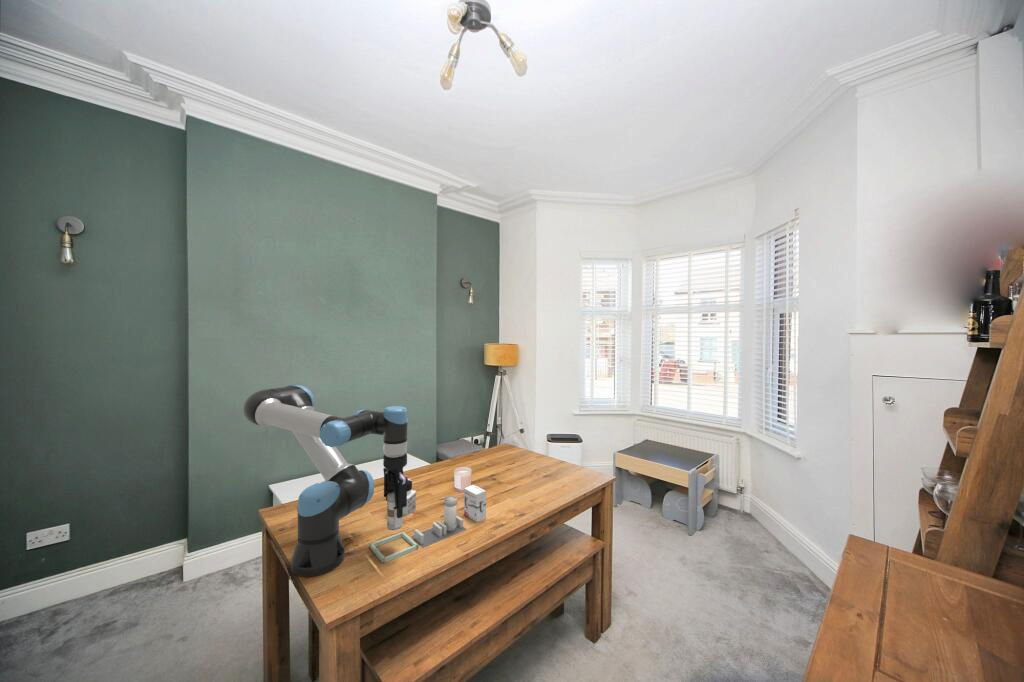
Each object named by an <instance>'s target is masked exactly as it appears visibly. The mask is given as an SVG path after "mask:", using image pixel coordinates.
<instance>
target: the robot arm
mask: <svg viewBox="0 0 1024 682" xmlns="http://www.w3.org/2000/svg"><path fill="white" fill-rule="evenodd" d="M314 399H315V397H314V395H313V393H312V391H311V390H310V389H308V388H307V387H306V386H303V385H301V384H300V385H299V384H298V385H294V384H293V385H287V386H281V387H275V388H269V389H268V388H267V389H261V390H258V391H255V392H254V393H252V394H251V395H250V396H249V397H248V398H247V399H246V400H245V402H244V404H243V411H242V412H243V415H244V417H245V419H247V421H248V422H250V423H251V424H254V425H256V426H260V427H265V428H267V427H272V426H273V427H275V428H276V427H277V428H279V429H284V430H288V431H291V432H292V434H293V435H294V436H295V438H296V439H297V441H298V442H299V444H300V445H301V447H302V448H303V450H304V451H305V452H306V454H307V456H308V457H309V459H310V460H311V461H312V463H313V464H314V466H315V467H316V469H317V471H319V473H320V474H321V476H322V478H323V479H324V481H321V482H316V483H313V484H311V485H309V486H308V487H306V488H305V489H303V490H302V492H301V493H300V494H299V496H298V501H297V506H296V507H297V508H296V512H297V542H296V546H295V548H294V551H293V554H292V557H291V560H290V571H291V573H292V574H294V576H299V577H305V578H306V577H315V576H319V575H323V574H326V573H328V572H330V571H332V570H335V568H337V567H339V566H340V565H341V564H342V563H343V561H344V559H345V557H346V556H345V554H346V552H345V546H344V543H343V540H342V538H341V535H340V520H341V519H343V518H344V517H347V516H348V515H349V514H352V513H353V512H354V511H355V512H356V510H358V509H361V508H362V507H364V506H365V505H366V504H367V503H369V502H370V501H371V499H372V498H373V496H374V494H375V487H376V486H375V485H376V484H375V481H374V478H373V476H372V474H371V473H370V472H368V471H367V470H364V469H360V470H359V469H358V468H357V467H356V465H355V464H354V463H348V462H347V460H346V459H345V458H344V456H343V455H342V454H341V452H340V450H339V449H338V448H337V447H338V446H343V445H345V444H347V443H349V442H352V441H355V440H357V439H360V438H364V437H366V436H369V435H378V436H383V444H382V445H383V450H382V452H383V457H382V458H383V459H382V460H383V464H382V466H383V470H382V471H383V497H384V498H385V500H386V508H387V507H388V501H387V494H388V493H389V492H392V491H394V495H395V506H396V507H393V508H394V528H397V527H400V526H402V527H403V526H404V515H403V507H406V506H407V482H408V479H409V478H408V477H407V476H404V467H406V466H407V464H408V452H407V451H408V443H409V442H408V425H409V424H408V422H409V419H408V410H407V409H408V408H407V407H404V406H400V405H398V406H396V405H393V406H388V407H385V408H384V409H383V411H377V410H371V409H361V410H360V409H359V410H357V411H356V412H355V413H354V414H352V415H351V416H347V417H339V416H335V415H331V414H328V413H323V412H320V411H315V408H314V407H315V401H314ZM396 483H397V484H396ZM387 516H388V515H387V514H386V517H387Z"/></svg>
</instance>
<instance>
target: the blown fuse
mask: <svg viewBox="0 0 1024 682" xmlns="http://www.w3.org/2000/svg"><path fill="white" fill-rule="evenodd" d="M387 501H388V507H387V506H386V529H387V530H388V531H397V530H400V529H402V527H403V526H400V527H397V528H394V508H393V507H396V506H395V495H394V491H392V492H389V493H388V494H387V500H386V502H387ZM387 515H388V516H387Z"/></svg>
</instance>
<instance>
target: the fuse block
mask: <svg viewBox="0 0 1024 682" xmlns="http://www.w3.org/2000/svg"><path fill="white" fill-rule="evenodd" d="M456 523H457V529H456V530H455V531H453V532H446V531H447V526H446V525H444V522H442V521H440V520H436V522H435V521H434V522H432V524H431V525H432V527H431V528H428V529H425V530H424V531H420V530H419V529H418V528H416V529H414V531H413V532H414V533H413V535H411V536H410V538H411V539H412V540H413V541H414V542H415V543H416V544H418V546H420V547H421V548H427V547H429V546H431V545H433V544H435V543H438V542H440V541H443V540H445V539H448V538H450V537H453V536H455V535H457V534H460V533H462V532H465V531H467V530H468V529H467V528H466V527H465V526H464V519H463V518H462V517H460V516H458V515H456Z"/></svg>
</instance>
